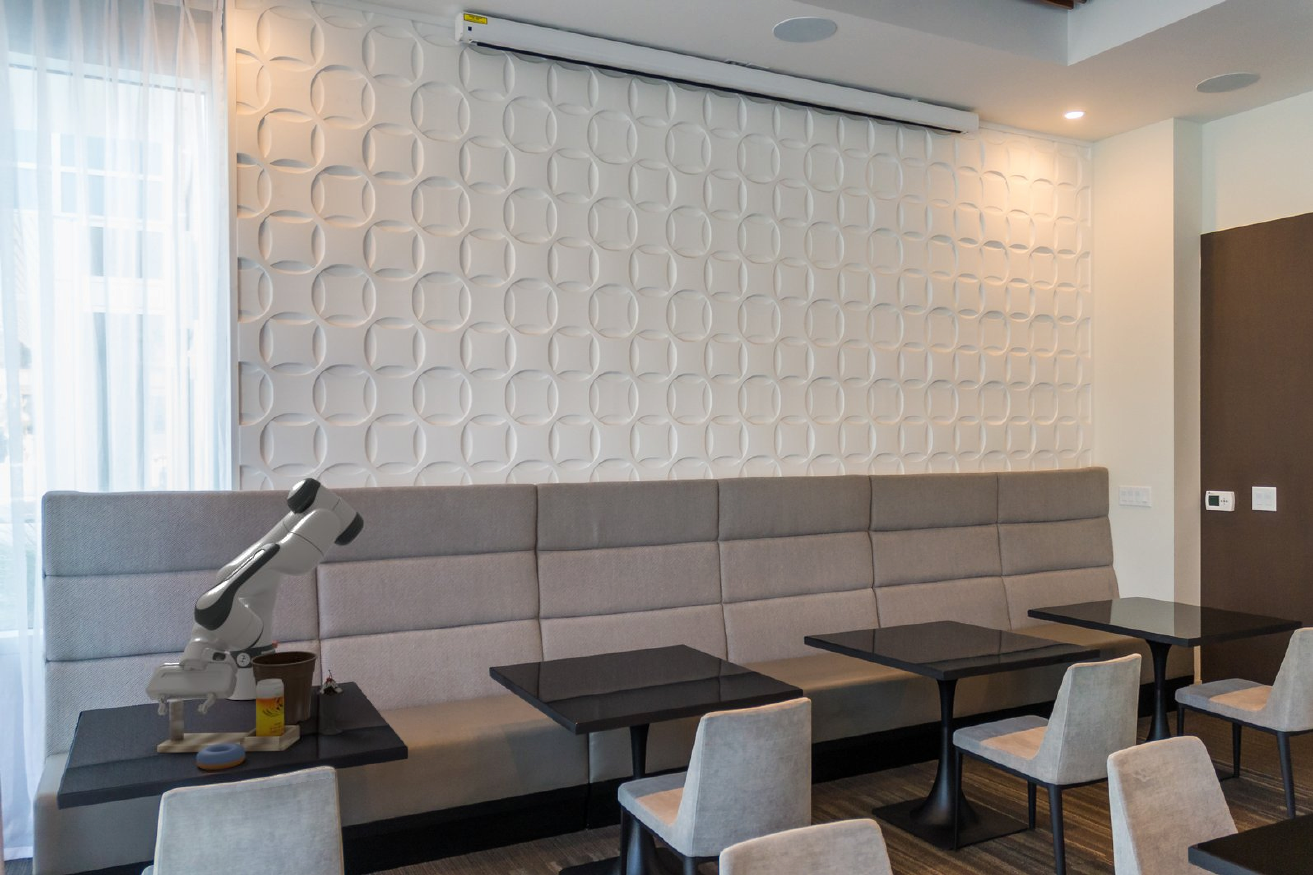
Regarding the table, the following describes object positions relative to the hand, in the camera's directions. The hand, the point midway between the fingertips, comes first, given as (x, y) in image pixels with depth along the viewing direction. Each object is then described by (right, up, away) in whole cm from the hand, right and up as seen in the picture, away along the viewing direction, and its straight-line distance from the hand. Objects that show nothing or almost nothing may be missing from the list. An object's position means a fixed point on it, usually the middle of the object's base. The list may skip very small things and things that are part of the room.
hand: (181, 713), depth 233 cm
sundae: (+33, -7, +8) cm, 34 cm away
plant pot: (+17, -8, +21) cm, 28 cm away
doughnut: (+16, -7, -15) cm, 23 cm away
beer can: (+22, -7, -1) cm, 23 cm away
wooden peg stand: (+12, -7, -1) cm, 14 cm away
